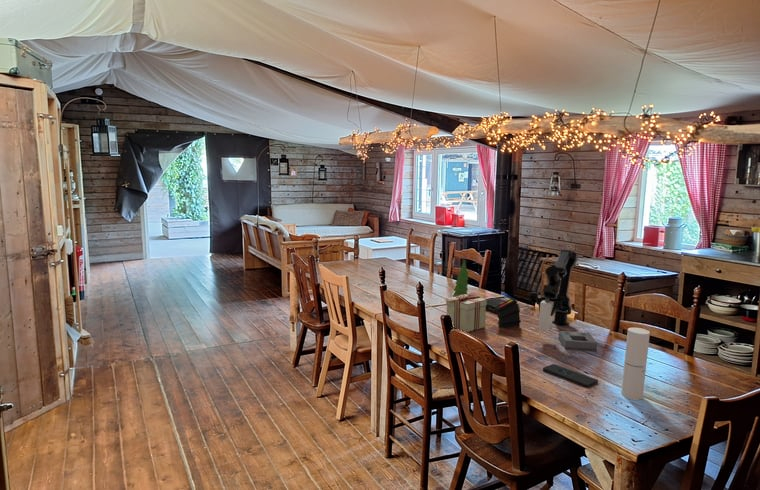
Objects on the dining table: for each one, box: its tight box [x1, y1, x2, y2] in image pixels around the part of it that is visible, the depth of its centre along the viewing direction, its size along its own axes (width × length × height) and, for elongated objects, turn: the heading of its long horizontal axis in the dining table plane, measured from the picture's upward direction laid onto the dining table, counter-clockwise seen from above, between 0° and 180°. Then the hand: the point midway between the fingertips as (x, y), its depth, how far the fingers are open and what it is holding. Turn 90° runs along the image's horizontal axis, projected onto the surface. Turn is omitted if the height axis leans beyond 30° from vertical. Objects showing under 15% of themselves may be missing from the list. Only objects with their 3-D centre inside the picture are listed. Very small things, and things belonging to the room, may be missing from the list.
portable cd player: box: [486, 297, 520, 315], centre depth 296 cm, size 16×17×4 cm
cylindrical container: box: [620, 327, 651, 401], centre depth 184 cm, size 7×7×25 cm
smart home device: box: [542, 363, 599, 389], centre depth 202 cm, size 8×2×20 cm
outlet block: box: [558, 330, 598, 352], centre depth 238 cm, size 14×14×4 cm
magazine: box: [495, 297, 522, 329], centre depth 262 cm, size 4×13×15 cm, turn 103°
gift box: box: [444, 292, 488, 333], centre depth 261 cm, size 17×18×17 cm
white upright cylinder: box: [537, 298, 554, 332], centre depth 241 cm, size 5×5×15 cm
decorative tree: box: [452, 259, 469, 297], centre depth 290 cm, size 10×9×30 cm
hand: (545, 314), depth 240 cm, fingers closed on white upright cylinder, 5 cm apart
